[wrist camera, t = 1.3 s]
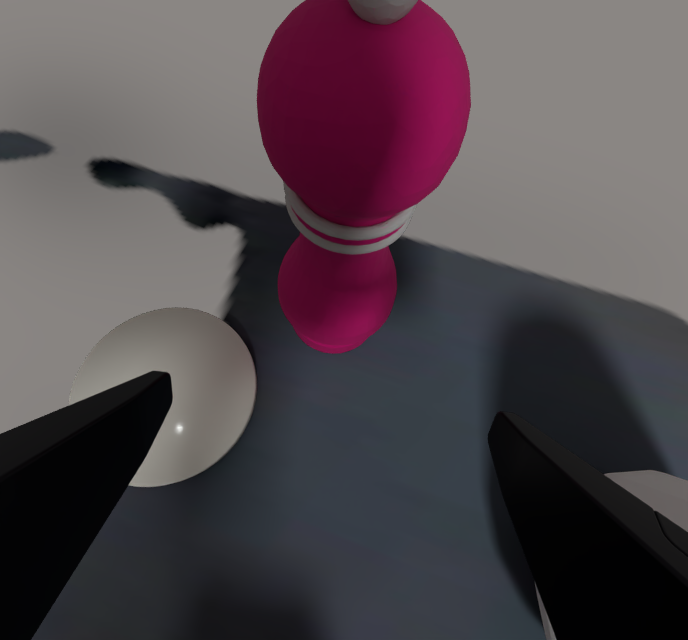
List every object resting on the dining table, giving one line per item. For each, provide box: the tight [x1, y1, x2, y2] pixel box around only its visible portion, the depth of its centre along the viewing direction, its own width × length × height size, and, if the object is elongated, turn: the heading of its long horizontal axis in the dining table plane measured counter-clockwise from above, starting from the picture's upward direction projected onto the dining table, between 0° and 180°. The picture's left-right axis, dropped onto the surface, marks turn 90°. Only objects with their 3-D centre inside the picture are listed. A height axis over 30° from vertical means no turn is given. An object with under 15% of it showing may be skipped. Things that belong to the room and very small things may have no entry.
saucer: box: [68, 308, 257, 487], centre depth 21 cm, size 11×11×1 cm
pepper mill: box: [257, 0, 471, 354], centre depth 15 cm, size 7×7×20 cm
